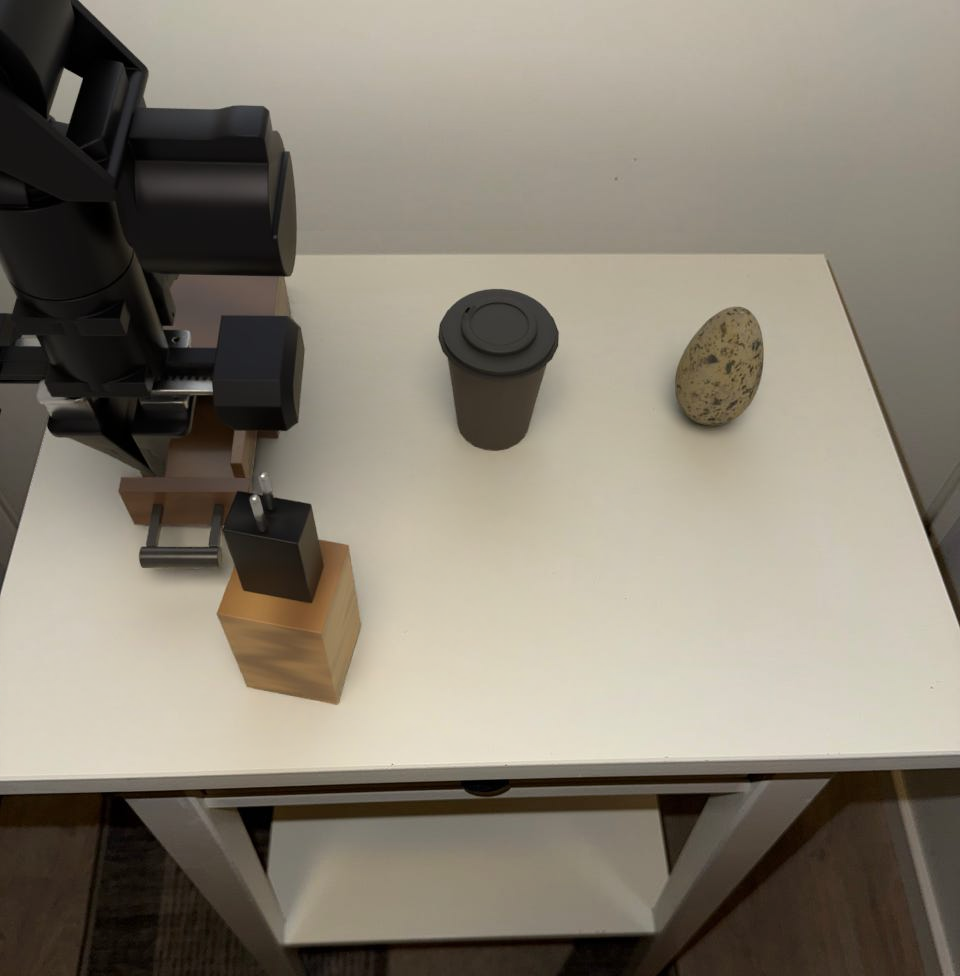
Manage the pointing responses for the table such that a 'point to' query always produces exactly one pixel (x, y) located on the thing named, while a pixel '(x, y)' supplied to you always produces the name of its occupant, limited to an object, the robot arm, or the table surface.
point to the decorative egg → (721, 368)
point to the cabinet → (224, 306)
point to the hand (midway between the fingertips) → (159, 470)
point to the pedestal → (296, 632)
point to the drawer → (192, 488)
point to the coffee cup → (496, 363)
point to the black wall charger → (274, 544)
